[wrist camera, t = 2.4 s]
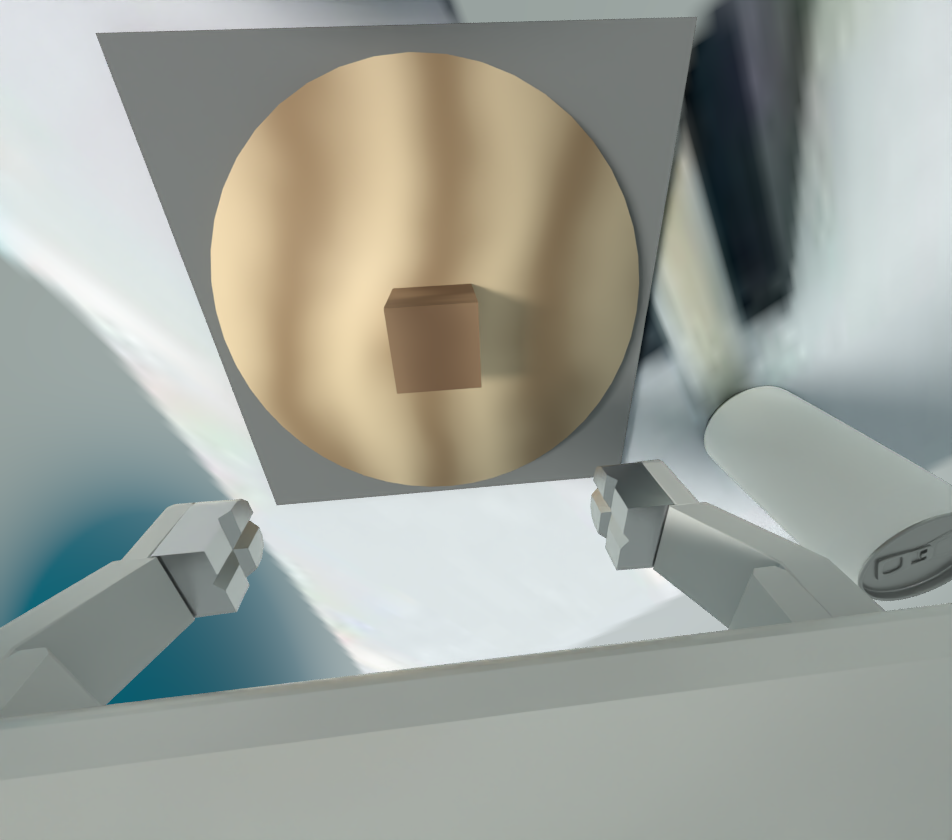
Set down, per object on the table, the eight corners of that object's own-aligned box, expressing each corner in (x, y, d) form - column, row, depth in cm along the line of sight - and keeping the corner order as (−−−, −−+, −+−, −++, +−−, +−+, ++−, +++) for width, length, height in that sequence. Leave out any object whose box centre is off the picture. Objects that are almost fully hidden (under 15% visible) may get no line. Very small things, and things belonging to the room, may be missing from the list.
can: (795, 438, 29) (993, 575, 19) (709, 474, 30) (850, 623, 20) (788, 366, 26) (1019, 482, 16) (692, 409, 27) (849, 545, 17)
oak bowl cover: (668, 49, 17) (742, 3, 13) (607, 464, 28) (636, 512, 24) (135, 67, 16) (29, 23, 12) (288, 492, 27) (260, 547, 23)
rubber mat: (689, 21, 17) (697, 16, 17) (615, 469, 29) (618, 474, 29) (106, 38, 16) (95, 32, 15) (279, 499, 28) (276, 505, 27)
